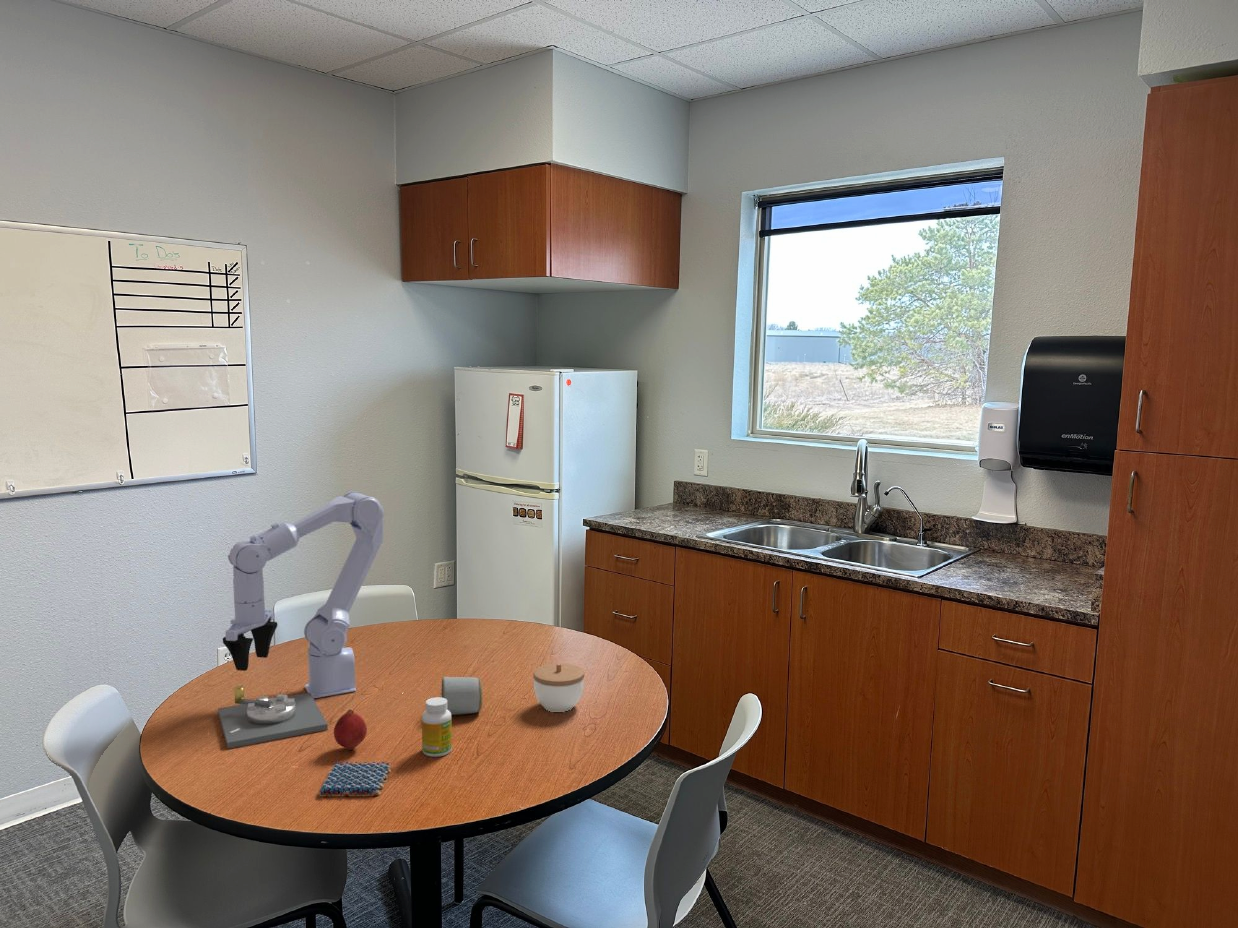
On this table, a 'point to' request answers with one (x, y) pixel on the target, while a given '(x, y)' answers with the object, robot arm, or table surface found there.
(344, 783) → the woven mat
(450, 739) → the supplement bottle
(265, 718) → the lathe jaw chuck
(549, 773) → the table surface
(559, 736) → the table surface
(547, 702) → the lidded jar
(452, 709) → the ceramic mug
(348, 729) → the onion
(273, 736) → the base plate
